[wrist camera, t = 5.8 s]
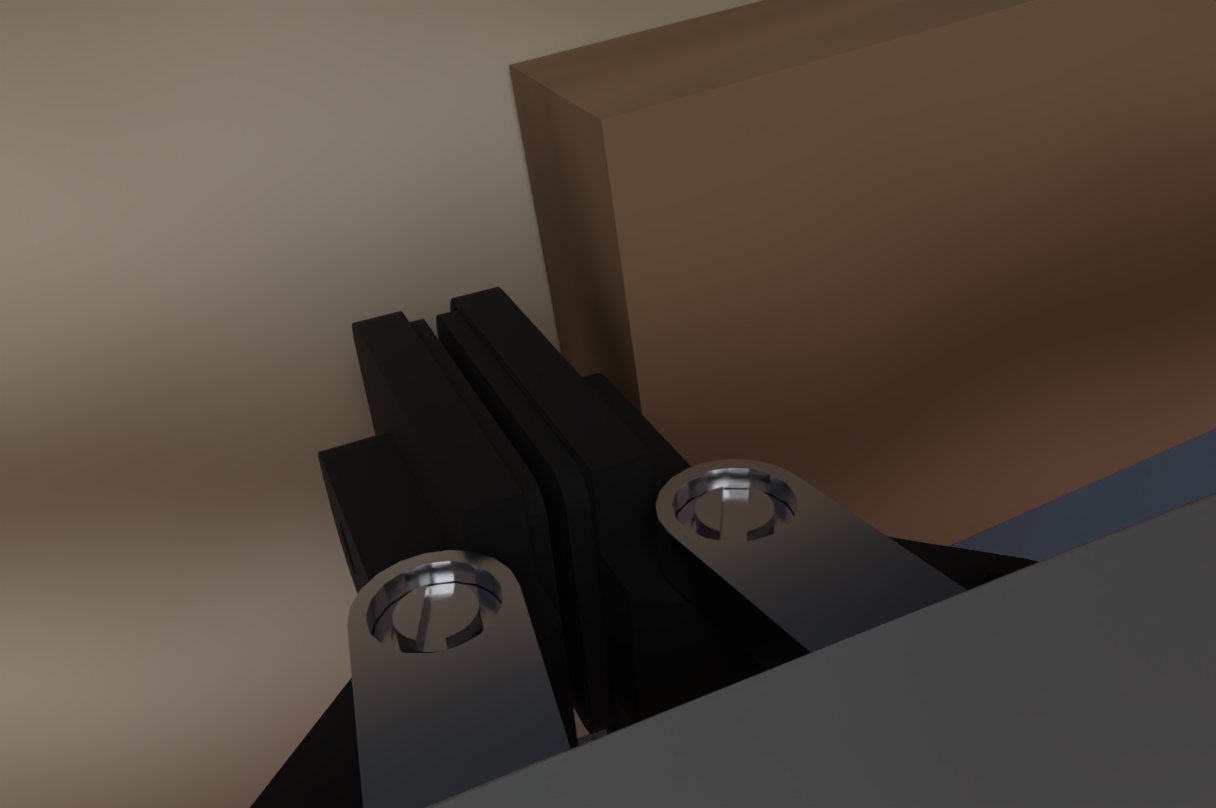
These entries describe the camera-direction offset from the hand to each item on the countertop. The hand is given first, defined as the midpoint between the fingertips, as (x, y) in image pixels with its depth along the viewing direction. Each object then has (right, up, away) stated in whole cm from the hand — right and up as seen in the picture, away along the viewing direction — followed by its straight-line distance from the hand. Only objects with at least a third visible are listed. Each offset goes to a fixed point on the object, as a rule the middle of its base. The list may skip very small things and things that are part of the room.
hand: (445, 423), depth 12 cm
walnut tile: (+5, +2, +3) cm, 6 cm away
